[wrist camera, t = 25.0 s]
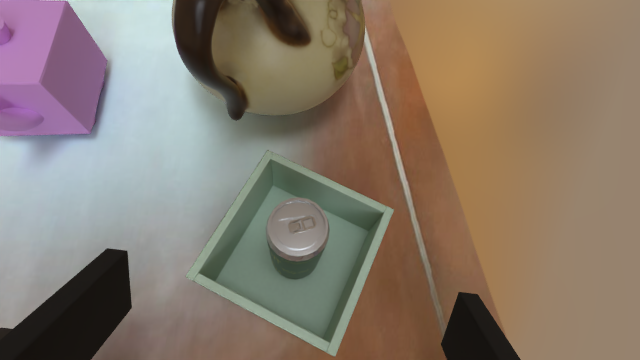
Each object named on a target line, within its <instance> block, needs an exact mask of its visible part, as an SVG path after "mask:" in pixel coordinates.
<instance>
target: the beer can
mask: <svg viewBox="0 0 640 360" xmlns="http://www.w3.org/2000/svg"><path fill="white" fill-rule="evenodd" d="M329 232H330V227H329V222H328V219H327V216H326V215H325V213H324V211H323V209H322V208H321V207H320V206H319V205H318V204H317V203H315V202H313V201H311V200H309V199H306V198H300V197H297V198H289V199H287V200H285V201H283V202H281V203H280V204H279V205H277V206H276V207H275V208H274V210H273V211H272V213H271V214H270V216H269V218H268V220H267V224H266V238H267V243H268V247H269V251H270V255H271V259H272V263H273V265H274V267H275V269H276V270H277V271H278V272H279V273H280V274H281V275H283V276H284V277H286V278H290V279H300V278H304V277H306V276H308V275H310V274H311V273H312V272H313V270H314V269H315V268H316V266H317V264H318V262H319V260H320V257H321V255H322V253H323V251H324V248H325V246H326V244H327V242H328V239H329Z"/></svg>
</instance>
